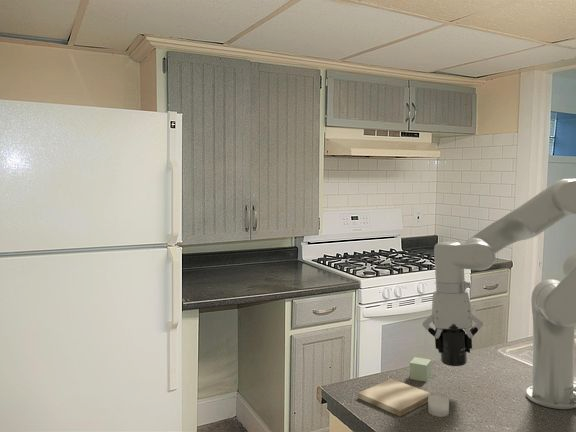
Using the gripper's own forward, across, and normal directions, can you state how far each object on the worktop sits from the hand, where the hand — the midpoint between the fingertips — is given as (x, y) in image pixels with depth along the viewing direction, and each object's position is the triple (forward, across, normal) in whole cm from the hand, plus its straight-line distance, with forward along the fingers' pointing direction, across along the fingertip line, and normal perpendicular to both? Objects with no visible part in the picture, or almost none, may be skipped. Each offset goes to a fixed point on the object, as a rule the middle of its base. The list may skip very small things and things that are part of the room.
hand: (453, 350), depth 135 cm
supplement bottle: (+4, 0, 0) cm, 4 cm away
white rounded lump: (+11, +6, +13) cm, 18 cm away
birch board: (+11, +17, +7) cm, 21 cm away
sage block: (+11, +9, -9) cm, 17 cm away
